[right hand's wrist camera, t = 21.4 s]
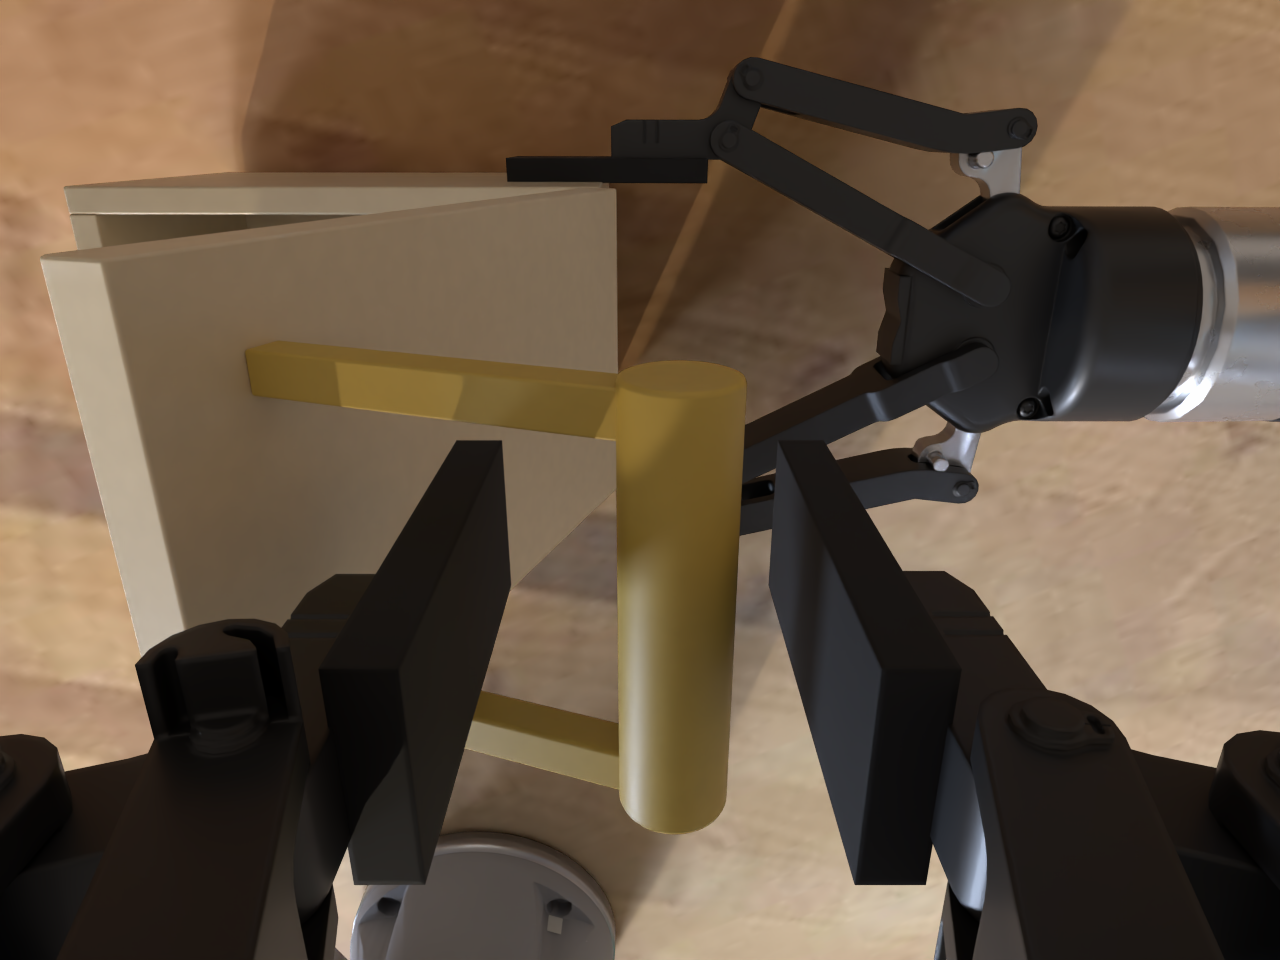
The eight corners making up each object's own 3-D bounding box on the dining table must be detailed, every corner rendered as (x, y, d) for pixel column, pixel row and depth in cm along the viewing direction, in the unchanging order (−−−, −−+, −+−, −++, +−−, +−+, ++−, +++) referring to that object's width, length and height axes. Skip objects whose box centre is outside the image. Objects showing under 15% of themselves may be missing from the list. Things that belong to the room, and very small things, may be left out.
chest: (264, 388, 38) (131, 478, 28) (227, 172, 35) (61, 186, 25) (611, 387, 39) (604, 477, 28) (609, 172, 35) (600, 186, 25)
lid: (185, 837, 14) (676, 1007, 11) (37, 254, 10) (693, 297, 8) (588, 482, 28) (846, 519, 25) (582, 187, 25) (880, 194, 22)
